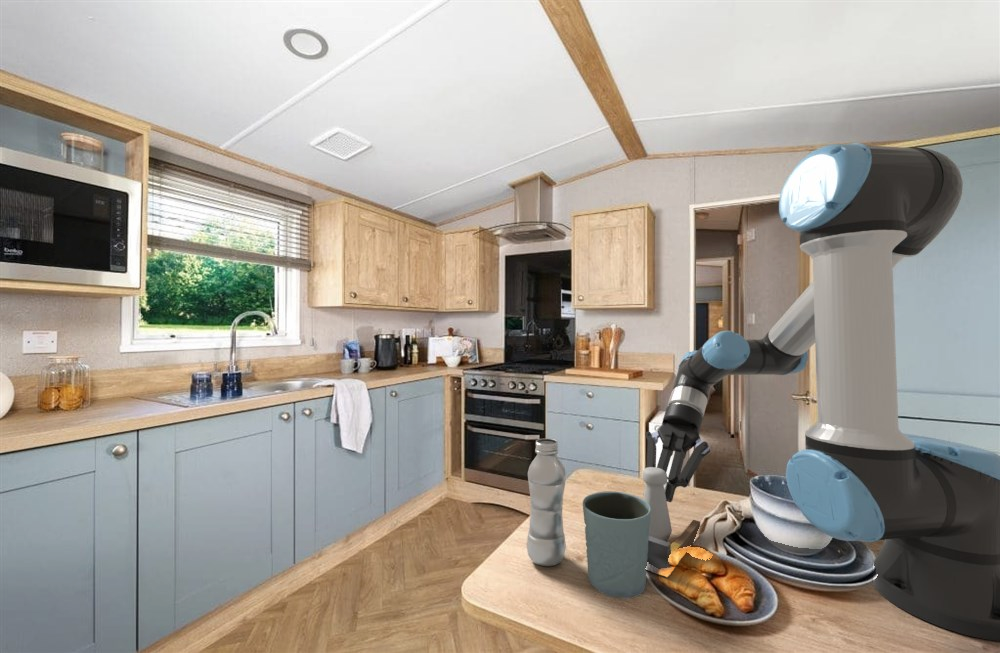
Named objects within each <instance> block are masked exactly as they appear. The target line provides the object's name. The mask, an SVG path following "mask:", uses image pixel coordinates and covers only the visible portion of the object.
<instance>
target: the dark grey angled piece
mask: <svg viewBox="0 0 1000 653" xmlns="http://www.w3.org/2000/svg"><path fill="white" fill-rule="evenodd" d="M699 527H700V528H701V521H699V520H696V519H693V520H692V521H691V522H690V523H689V524H688V526H687V527H686V528H685V529H684V530H683V531H682V532H681V533H680V535H679V536H678V538H677V539H676V540H675V541H672V543H671V542H668V541H667V542H666V541H663V540H660V539H657V538H654V537H651V536H649V541H648V554H647V556H648V559H647V562H649V564H651V565H653V566H654V567H656V568H658V569H661V568H667V567H670V564H669V562H668V558H669V555H670V554H671V551H672V550H674V549H679V548H683V547H687V546H690V545H692V546H693V545H694V544H693V542H694V539H695V537H696V534H697V531H698V529H699ZM694 543H695V542H694Z"/></svg>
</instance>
